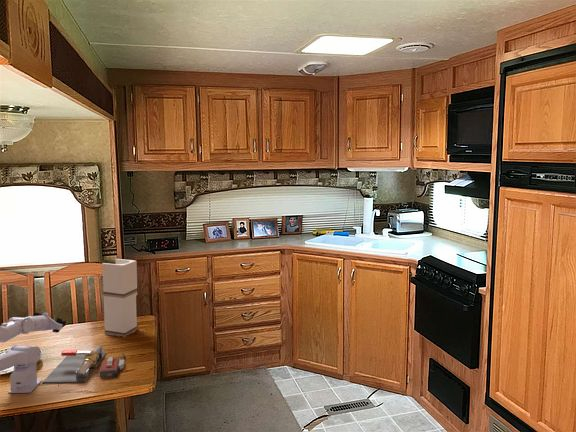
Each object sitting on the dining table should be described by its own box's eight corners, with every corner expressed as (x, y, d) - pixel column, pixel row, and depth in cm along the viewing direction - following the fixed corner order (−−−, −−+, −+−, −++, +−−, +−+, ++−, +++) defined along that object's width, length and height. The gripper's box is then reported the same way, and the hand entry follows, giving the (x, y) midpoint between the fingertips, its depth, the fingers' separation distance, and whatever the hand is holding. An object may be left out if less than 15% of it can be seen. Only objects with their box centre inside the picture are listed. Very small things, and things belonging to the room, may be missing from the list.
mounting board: (84, 382, 182) (84, 381, 182) (42, 383, 181) (42, 381, 181) (105, 354, 208) (105, 352, 208) (69, 354, 207) (69, 353, 207)
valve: (86, 378, 184) (86, 366, 183) (74, 379, 184) (74, 366, 183) (104, 354, 206) (104, 343, 205) (94, 354, 205) (94, 343, 205)
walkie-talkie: (122, 378, 187) (126, 356, 207) (122, 367, 187) (125, 347, 206) (98, 380, 185) (104, 358, 204) (98, 369, 185) (104, 348, 204)
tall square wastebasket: (138, 329, 237) (136, 260, 232) (124, 337, 227) (122, 265, 222) (118, 326, 240) (116, 258, 235) (104, 334, 230) (102, 263, 225)
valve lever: (94, 353, 195) (94, 349, 195) (92, 355, 193) (92, 352, 193) (63, 353, 195) (63, 349, 194) (61, 355, 192) (61, 352, 192)
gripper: (55, 317, 182) (75, 315, 196) (21, 309, 184) (43, 307, 198) (50, 336, 181) (70, 332, 195) (16, 327, 184) (38, 324, 197)
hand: (56, 321), depth 196 cm, fingers open, 7 cm apart
